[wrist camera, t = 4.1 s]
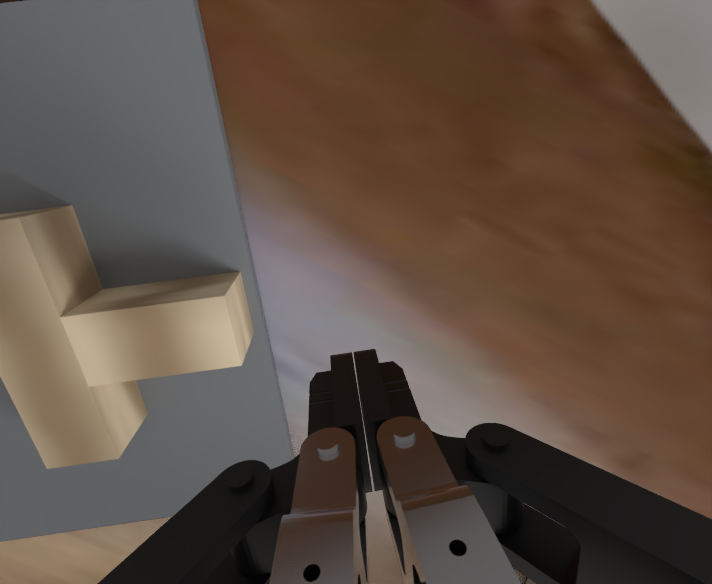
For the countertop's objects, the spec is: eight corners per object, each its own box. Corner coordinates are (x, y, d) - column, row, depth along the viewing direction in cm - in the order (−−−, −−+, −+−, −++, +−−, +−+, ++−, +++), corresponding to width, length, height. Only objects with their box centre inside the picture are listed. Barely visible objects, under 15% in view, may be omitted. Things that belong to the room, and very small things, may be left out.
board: (195, -10, 17) (189, -17, 16) (300, 487, 27) (300, 497, 26) (-401, 53, 16) (-437, 48, 15) (-64, 540, 26) (-75, 552, 25)
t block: (221, 187, 19) (199, 195, 16) (268, 397, 23) (259, 438, 20) (-4, 214, 18) (-74, 229, 15) (86, 422, 23) (47, 469, 19)
